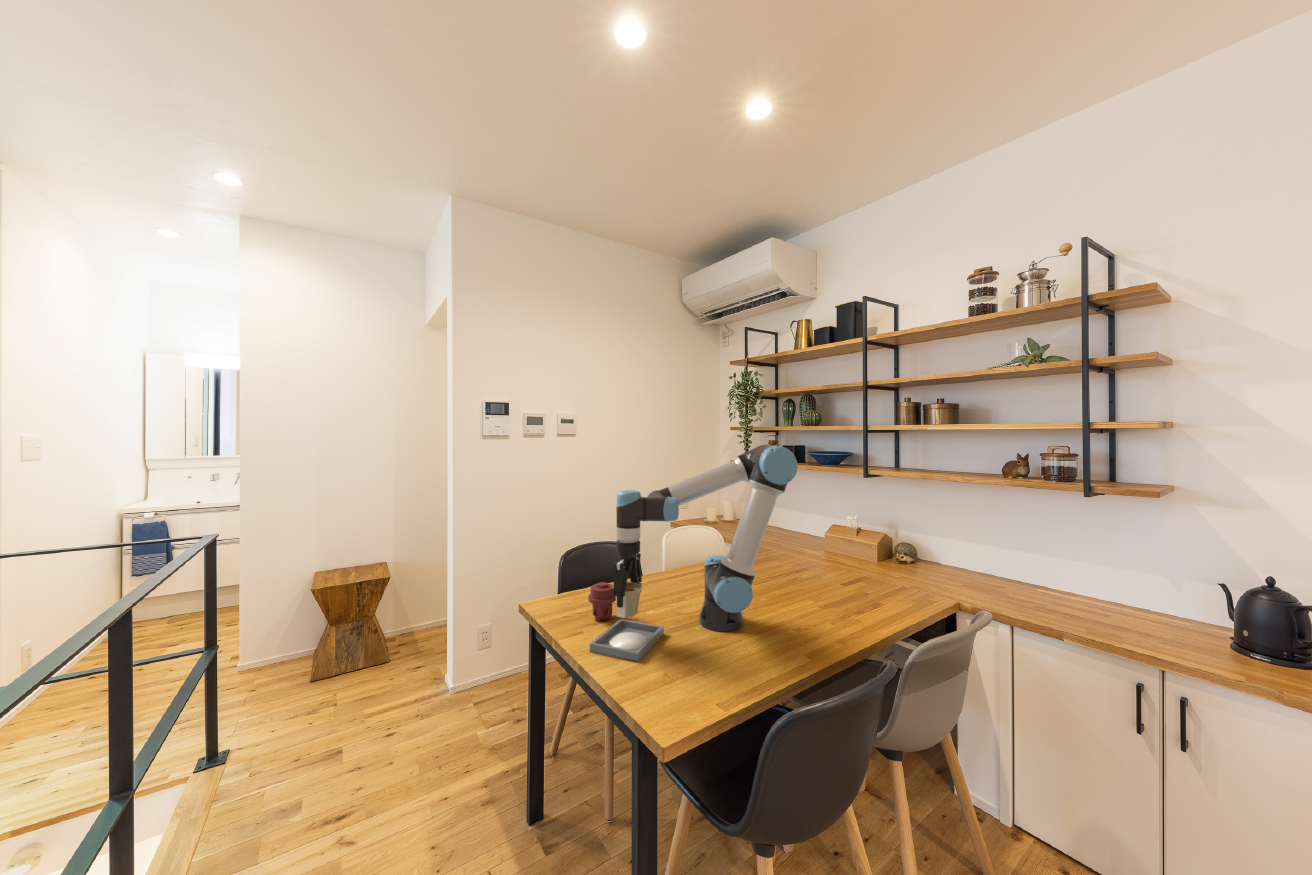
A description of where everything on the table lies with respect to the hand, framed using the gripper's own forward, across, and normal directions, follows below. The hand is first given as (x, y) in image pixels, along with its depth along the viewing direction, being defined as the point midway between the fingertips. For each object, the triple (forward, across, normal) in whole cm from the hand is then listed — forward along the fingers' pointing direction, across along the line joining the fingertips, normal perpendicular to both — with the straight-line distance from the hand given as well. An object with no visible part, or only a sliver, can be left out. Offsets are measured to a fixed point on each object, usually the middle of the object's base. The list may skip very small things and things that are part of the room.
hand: (627, 611), depth 146 cm
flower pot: (+1, 0, 0) cm, 1 cm away
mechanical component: (+10, -14, -17) cm, 24 cm away
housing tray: (+10, 0, 0) cm, 10 cm away
